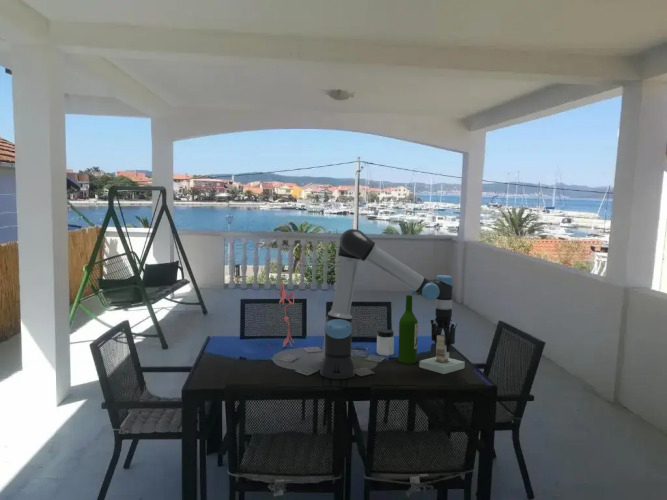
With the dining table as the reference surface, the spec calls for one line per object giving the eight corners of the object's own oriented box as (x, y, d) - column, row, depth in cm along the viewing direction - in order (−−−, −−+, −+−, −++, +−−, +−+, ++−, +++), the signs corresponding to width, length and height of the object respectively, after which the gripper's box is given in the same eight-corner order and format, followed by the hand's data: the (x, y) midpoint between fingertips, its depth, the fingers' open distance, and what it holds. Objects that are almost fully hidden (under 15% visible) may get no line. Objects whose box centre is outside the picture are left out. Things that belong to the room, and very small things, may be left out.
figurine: (296, 340, 280) (296, 279, 278) (293, 351, 254) (292, 284, 252) (269, 340, 280) (269, 279, 278) (263, 351, 254) (263, 284, 252)
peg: (443, 362, 227) (443, 336, 226) (436, 360, 230) (436, 335, 229) (448, 361, 229) (449, 335, 229) (441, 359, 233) (442, 334, 232)
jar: (385, 356, 248) (386, 333, 247) (373, 353, 253) (374, 330, 253) (396, 353, 254) (397, 331, 253) (384, 350, 260) (385, 328, 259)
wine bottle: (416, 364, 234) (418, 297, 233) (397, 363, 236) (399, 296, 235) (416, 359, 243) (418, 294, 242) (398, 358, 245) (400, 294, 243)
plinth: (443, 374, 219) (443, 367, 219) (419, 367, 230) (419, 360, 230) (464, 368, 230) (464, 361, 229) (440, 361, 240) (440, 355, 240)
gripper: (464, 309, 225) (462, 360, 225) (434, 305, 238) (432, 352, 239) (454, 311, 220) (452, 362, 221) (424, 306, 233) (422, 354, 234)
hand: (442, 357), depth 230 cm, fingers closed on peg, 4 cm apart
